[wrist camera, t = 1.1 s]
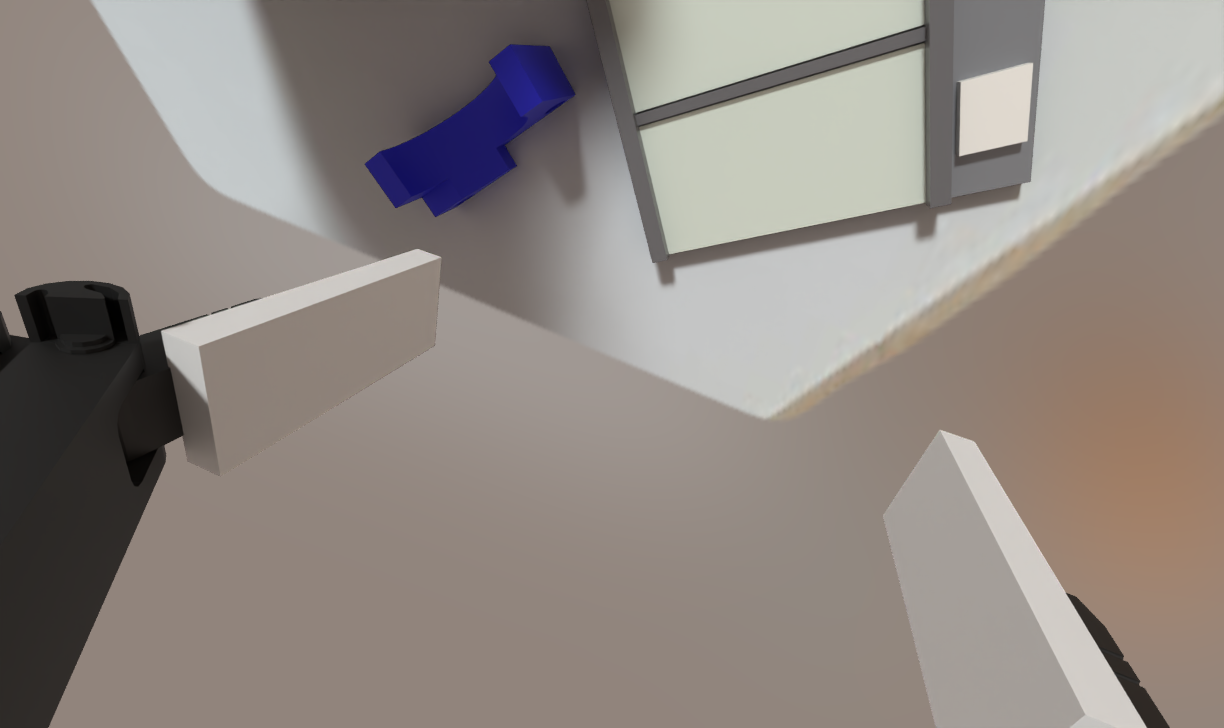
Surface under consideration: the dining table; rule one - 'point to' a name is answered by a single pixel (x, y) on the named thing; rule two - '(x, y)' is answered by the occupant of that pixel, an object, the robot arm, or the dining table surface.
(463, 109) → the cable clip
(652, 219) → the board
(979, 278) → the dining table surface
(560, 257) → the dining table surface
